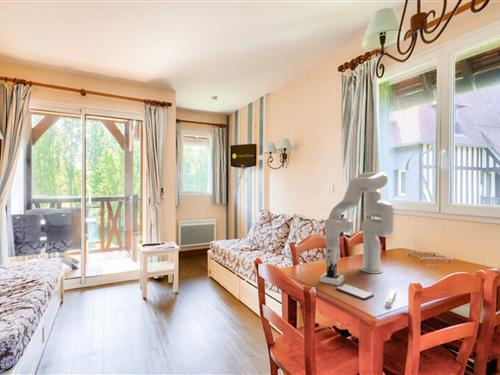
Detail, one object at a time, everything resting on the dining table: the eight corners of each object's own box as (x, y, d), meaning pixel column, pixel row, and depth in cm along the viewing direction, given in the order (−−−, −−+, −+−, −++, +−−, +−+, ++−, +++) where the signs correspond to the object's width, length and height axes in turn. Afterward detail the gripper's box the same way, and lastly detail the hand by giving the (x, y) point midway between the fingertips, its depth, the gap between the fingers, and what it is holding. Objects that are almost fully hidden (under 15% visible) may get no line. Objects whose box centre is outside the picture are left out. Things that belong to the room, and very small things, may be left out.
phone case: (374, 297, 130) (345, 286, 143) (374, 294, 130) (345, 283, 143) (364, 302, 125) (334, 290, 138) (364, 298, 125) (334, 287, 138)
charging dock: (391, 294, 132) (391, 288, 132) (396, 295, 131) (396, 289, 131) (385, 306, 119) (385, 300, 119) (391, 307, 118) (391, 301, 118)
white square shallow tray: (326, 277, 156) (326, 271, 156) (344, 280, 151) (344, 275, 151) (319, 282, 148) (319, 276, 148) (338, 286, 142) (338, 280, 142)
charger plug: (336, 276, 150) (336, 263, 150) (334, 279, 147) (334, 265, 146) (329, 275, 152) (329, 262, 152) (326, 277, 149) (326, 264, 149)
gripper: (334, 245, 140) (334, 281, 140) (343, 240, 154) (343, 272, 154) (320, 243, 144) (319, 278, 145) (330, 238, 158) (330, 270, 158)
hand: (332, 275), depth 149 cm, fingers closed on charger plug, 4 cm apart
